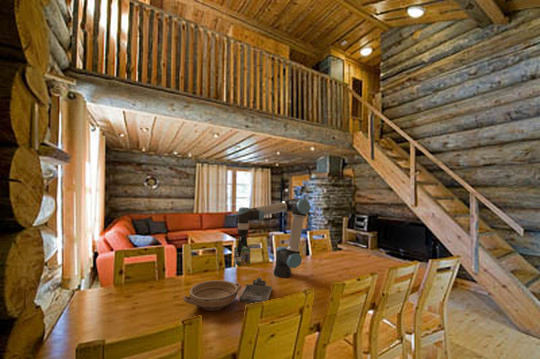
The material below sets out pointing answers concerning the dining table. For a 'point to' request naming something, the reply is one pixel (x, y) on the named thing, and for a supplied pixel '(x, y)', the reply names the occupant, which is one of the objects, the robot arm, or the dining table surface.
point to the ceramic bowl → (213, 294)
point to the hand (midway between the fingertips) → (242, 258)
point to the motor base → (256, 292)
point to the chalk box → (244, 256)
